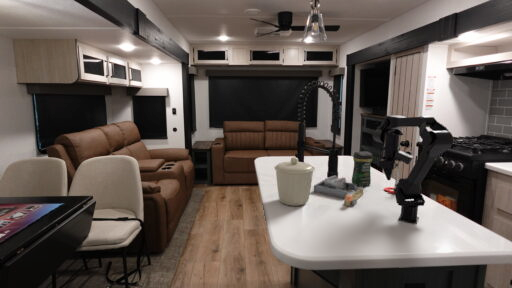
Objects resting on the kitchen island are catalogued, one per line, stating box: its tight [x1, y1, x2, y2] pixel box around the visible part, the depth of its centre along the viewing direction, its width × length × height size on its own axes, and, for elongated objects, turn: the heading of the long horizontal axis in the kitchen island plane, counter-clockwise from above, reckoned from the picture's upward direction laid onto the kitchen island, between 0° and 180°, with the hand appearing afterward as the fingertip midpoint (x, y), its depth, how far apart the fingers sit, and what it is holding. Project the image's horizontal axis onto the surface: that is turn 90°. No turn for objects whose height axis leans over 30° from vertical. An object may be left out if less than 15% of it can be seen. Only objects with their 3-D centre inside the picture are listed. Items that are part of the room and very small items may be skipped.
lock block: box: [323, 175, 347, 191], centre depth 147 cm, size 10×7×7 cm
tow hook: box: [383, 167, 399, 195], centre depth 146 cm, size 8×13×9 cm
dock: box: [313, 179, 358, 207], centre depth 142 cm, size 23×23×4 cm
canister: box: [273, 156, 315, 207], centre depth 130 cm, size 18×18×21 cm
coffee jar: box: [351, 151, 373, 187], centre depth 157 cm, size 10×8×19 cm
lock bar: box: [344, 188, 364, 207], centre depth 134 cm, size 20×2×4 cm, turn 144°
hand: (388, 180), depth 125 cm, fingers closed
